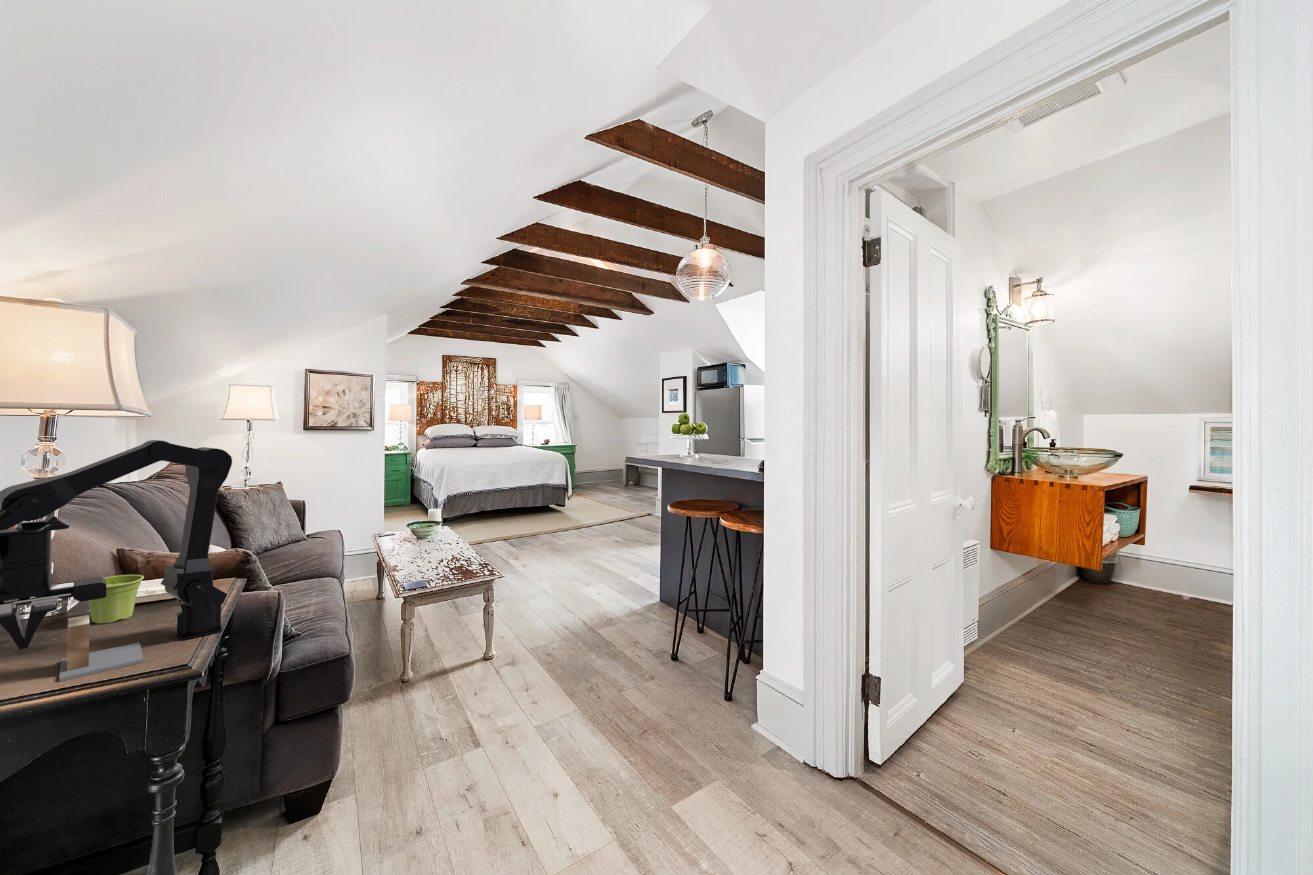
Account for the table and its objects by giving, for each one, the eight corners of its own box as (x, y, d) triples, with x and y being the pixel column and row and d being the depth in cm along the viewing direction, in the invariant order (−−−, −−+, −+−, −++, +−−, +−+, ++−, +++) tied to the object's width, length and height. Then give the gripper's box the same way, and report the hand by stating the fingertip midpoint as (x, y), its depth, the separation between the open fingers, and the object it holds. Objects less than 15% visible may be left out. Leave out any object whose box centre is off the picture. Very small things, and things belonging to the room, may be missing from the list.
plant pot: (94, 614, 112) (95, 576, 112) (150, 608, 116) (151, 572, 116) (69, 629, 104) (70, 589, 103) (131, 623, 108) (131, 584, 108)
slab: (88, 657, 91) (89, 614, 91) (88, 666, 88) (89, 622, 88) (67, 661, 89) (68, 618, 89) (66, 671, 86) (67, 626, 86)
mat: (139, 645, 98) (139, 642, 98) (143, 661, 92) (143, 658, 92) (60, 661, 90) (61, 658, 90) (59, 681, 84) (59, 678, 84)
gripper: (105, 541, 96) (104, 620, 96) (-63, 559, 82) (-64, 651, 82) (107, 552, 89) (105, 637, 89) (-77, 573, 75) (-78, 674, 75)
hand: (23, 648), depth 84 cm, fingers closed
